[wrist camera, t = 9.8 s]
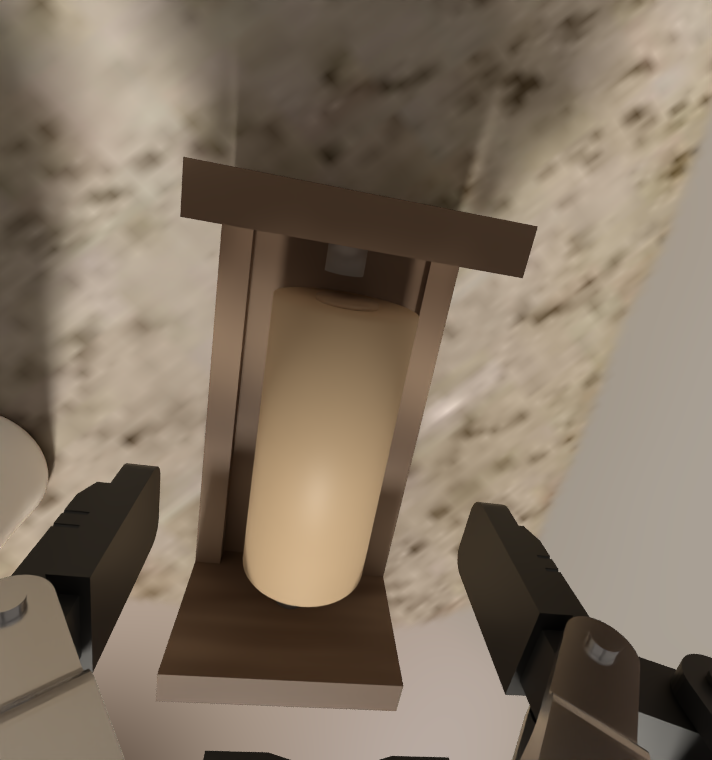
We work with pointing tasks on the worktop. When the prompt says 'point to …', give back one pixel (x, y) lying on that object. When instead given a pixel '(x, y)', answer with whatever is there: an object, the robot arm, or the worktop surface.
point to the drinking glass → (19, 477)
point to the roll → (323, 440)
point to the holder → (241, 416)
